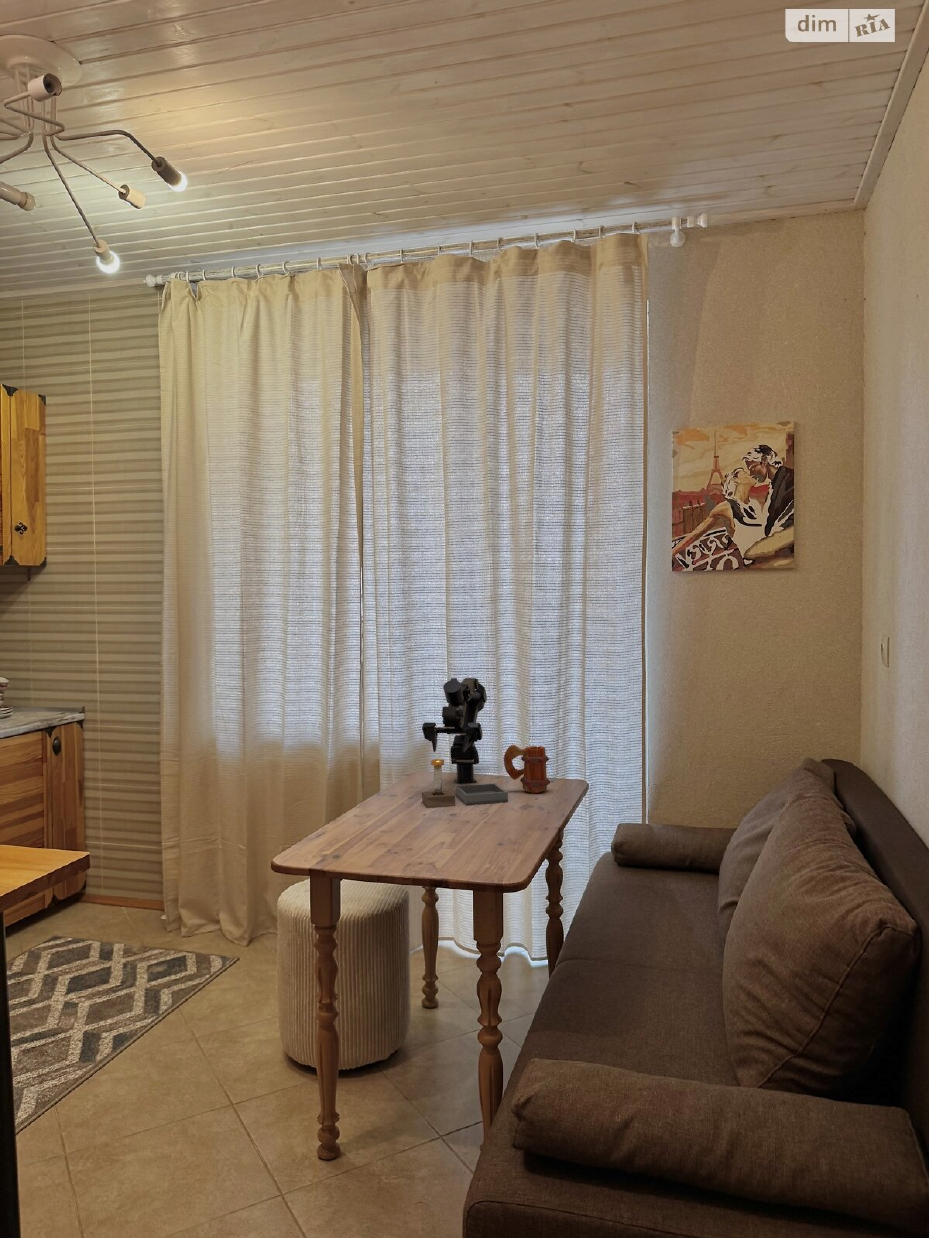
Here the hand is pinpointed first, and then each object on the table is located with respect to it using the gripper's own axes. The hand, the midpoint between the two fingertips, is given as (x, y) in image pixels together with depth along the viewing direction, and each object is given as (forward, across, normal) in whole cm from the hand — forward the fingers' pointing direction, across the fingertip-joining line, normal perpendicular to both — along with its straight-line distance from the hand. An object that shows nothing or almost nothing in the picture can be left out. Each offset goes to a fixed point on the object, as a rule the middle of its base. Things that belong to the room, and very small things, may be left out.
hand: (448, 751), depth 284 cm
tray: (+10, +10, +11) cm, 18 cm away
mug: (+1, +23, +19) cm, 30 cm away
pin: (+16, -2, +6) cm, 17 cm away
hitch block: (+16, -2, +6) cm, 17 cm away
